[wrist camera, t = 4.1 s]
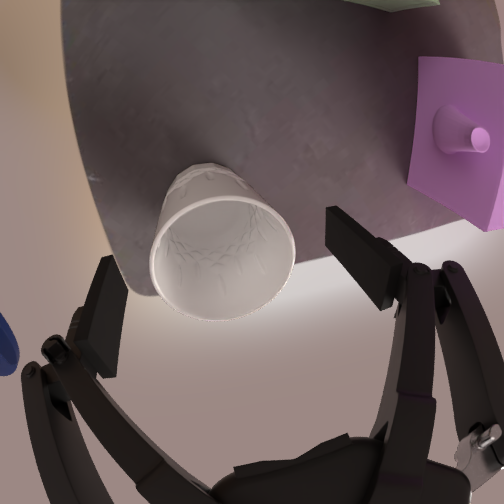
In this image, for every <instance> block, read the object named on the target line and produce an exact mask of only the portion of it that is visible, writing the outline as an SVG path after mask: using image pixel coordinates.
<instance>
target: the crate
mask: <svg viewBox="0 0 504 504" xmlns="http://www.w3.org/2000/svg"><path fill="white" fill-rule="evenodd" d="M343 1H348V2H353V3H357V4H361V5H366V6H370V7H373V8H377V9H381V10H384V11H388V12H391V13H392V12H396V11H401V10H407V9H413V8H420V7H427V6H436V5H440V3H439V0H343Z"/></svg>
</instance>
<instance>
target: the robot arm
mask: <svg viewBox="0 0 504 504" xmlns="http://www.w3.org/2000/svg"><path fill="white" fill-rule="evenodd" d="M325 246H326V247H327V248H328V249H329V250H330V252H331V253H332V254H333V255H334V256H335V257H336V258H337V259H338V261H339V262H340V263H341V264H342V265H343V267H344V268H345V269H346V270H347V271H348V272H349V274H350V275H351V276H352V277H353V278H354V280H355V281H356V282H357V283H358V284H359V286H360V287H361V288H362V289H363V290H364V292H365V293H366V294H367V295H368V297H369V298H370V299H371V300H372V301H373V303H374V304H375V305H376V306H377V308H378V309H379V310H380V311H382V310H385V309H387V308H389V307H392V305H393V301H394V298H395V299H396V300H397V301H398V302H399V303H398V306H397V310H396V313H395V316H394V318H396V322H395V330H394V337H393V344H392V350H391V356H390V361H389V367H388V372H387V377H386V382H385V386H384V391H383V396H382V399H381V403H380V407H379V411H378V415H377V419H376V422H375V424H374V426H373V429H372V431H371V433H370V436H369V438H368V437H349V435H348V433H346V434H343V435H341V436H338V437H336V438H334V439H331V440H328V441H325V442H323V443H320V444H319V445H318V446H316V447H314V448H312V449H311V450H309V451H308V452H306V453H304V454H303V455H301V456H299V457H298V458H296V459H291V460H276V461H275V460H273V461H259V462H255V463H250V464H246V465H241V466H236V467H233V468H234V472H233V473H231V474H229V475H227V476H225V477H224V478H222V479H221V480H220V481H218V482H217V483H216V484H215V485H214V486H213V487H212V489H211V488H209V487H208V486H207V485H205V484H204V483H202V482H201V481H199V480H198V479H196V478H195V477H194V476H192V475H191V474H189V473H188V472H187V471H186V470H185V469H183V468H182V467H181V466H180V465H179V464H177V463H176V462H175V461H174V460H173V459H171V458H170V457H169V456H168V455H167V454H166V453H165V452H164V451H163V450H161V449H160V448H159V447H158V446H157V445H156V444H155V443H154V442H153V441H152V440H151V439H150V438H149V437H148V436H147V435H146V434H145V433H144V432H143V431H142V430H141V429H140V428H139V427H138V426H137V425H136V424H135V423H134V422H133V421H132V420H131V419H130V418H129V417H128V415H126V414H125V412H124V411H123V410H122V409H121V408H120V407H119V405H118V404H117V403H116V402H115V401H114V400H113V398H112V397H111V396H110V395H109V394H108V392H107V391H106V390H105V389H104V388H103V386H102V385H101V384H100V383H99V381H98V380H97V379H96V375H97V372H98V373H99V375H100V376H101V377H102V378H103V379H104V378H113V377H116V374H117V364H118V355H119V347H120V339H121V332H122V325H123V319H124V312H125V307H126V301H127V296H128V288H127V286H126V284H125V282H124V280H123V278H122V275H121V273H120V271H119V269H118V266H117V264H116V262H115V259H114V257H113V255H109V256H105V257H102V258H101V260H100V263H99V265H98V268H97V270H96V273H95V276H94V278H93V281H92V284H91V286H90V289H89V292H88V295H87V298H86V301H85V304H84V306H82V307H78V309H77V310H76V311H75V313H74V314H73V317H72V320H71V324H70V326H69V330H68V333H67V336H66V339H65V340H64V339H63V337H61V336H60V335H53V336H51V337H49V338H48V339H47V340H46V341H45V342H44V343H43V345H42V348H41V352H42V355H43V356H44V357H45V358H46V359H47V361H48V362H49V364H47V365H45V366H43V367H41V366H40V365H39V364H38V363H37V362H35V361H32V362H30V363H28V364H27V365H26V366H25V367H24V368H23V370H22V373H21V382H22V392H23V400H24V407H25V413H26V419H27V425H28V429H29V435H30V440H31V444H32V448H33V452H34V455H35V459H36V463H37V466H38V470H39V473H40V476H41V479H42V482H43V485H44V488H45V490H46V493H47V496H48V498H49V501H50V504H114V503H113V501H112V499H111V498H110V496H109V494H108V492H107V490H106V488H105V486H104V484H103V482H102V480H101V478H100V476H99V474H98V472H97V470H96V468H95V465H94V463H93V461H92V459H91V457H90V454H89V452H88V449H87V447H86V444H85V442H84V439H83V437H82V434H81V431H80V428H79V426H78V423H77V420H76V417H75V414H74V411H73V408H72V404H71V401H70V400H72V402H73V404H74V405H75V407H76V408H77V410H78V411H79V413H80V414H81V416H82V418H83V419H84V420H85V422H86V423H87V425H88V426H89V427H90V429H91V430H92V432H93V433H94V434H95V436H96V437H97V439H98V440H99V441H100V443H101V444H102V445H103V446H104V448H105V449H106V450H107V451H108V453H109V454H110V455H111V456H112V458H113V459H114V460H115V461H116V462H117V463H118V464H119V466H120V467H121V468H122V469H123V470H124V471H125V472H126V474H127V475H128V476H129V477H130V478H131V479H132V480H133V481H134V482H135V484H136V489H137V491H138V492H139V493H140V494H141V495H142V496H143V497H144V498H145V499H146V500H147V501H148V502H149V503H150V504H471V493H472V492H474V491H475V490H476V489H478V488H479V487H480V486H482V485H483V484H484V483H485V482H486V481H488V480H489V479H490V478H491V477H493V476H494V475H495V474H496V473H497V472H498V471H500V470H501V469H502V468H504V361H503V358H502V355H501V352H500V349H499V346H498V344H497V341H496V338H495V336H494V333H493V331H492V328H491V326H490V323H489V321H488V319H487V316H486V314H485V311H484V309H483V307H482V305H481V303H480V301H479V298H478V296H477V294H476V292H475V290H474V288H473V286H472V284H471V282H470V280H469V278H468V277H467V275H466V273H465V271H464V269H463V268H462V266H461V265H460V264H458V263H457V262H454V261H445V262H443V264H442V268H441V269H437V270H431V269H430V268H429V267H428V266H427V265H425V264H422V263H412V262H411V261H410V260H409V259H408V258H407V257H406V256H405V255H403V254H402V253H401V252H400V251H398V249H397V248H395V247H393V245H392V244H391V243H390V242H388V241H387V240H385V239H383V238H380V237H378V238H375V237H374V236H373V235H372V234H371V233H369V232H368V231H367V230H366V229H365V228H364V227H362V226H361V225H360V224H359V223H358V222H356V221H355V220H354V219H353V218H351V217H350V216H349V215H348V214H347V213H345V212H344V211H343V210H342V209H340V208H339V207H338V206H331V207H326V232H325ZM435 326H436V329H437V333H438V337H439V340H440V344H441V348H442V352H443V356H444V361H445V365H446V370H447V375H448V380H449V386H450V391H451V397H452V404H453V411H454V419H455V425H456V431H457V435H458V439H459V442H460V443H459V445H458V447H457V451H456V453H455V455H454V459H455V461H456V462H457V467H456V468H454V467H450V466H447V465H444V464H441V463H438V462H435V461H432V460H429V459H427V457H428V453H429V449H430V443H431V438H432V432H433V427H434V420H435V413H436V399H435V398H433V397H432V388H433V387H432V386H433V376H434V360H435Z"/></svg>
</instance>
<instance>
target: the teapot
mask: <svg viewBox="0 0 504 504" xmlns="http://www.w3.org/2000/svg"><path fill="white" fill-rule="evenodd" d="M407 185H408V186H410V187H412V188H414V189H416V190H418V191H419V192H421V193H423V194H425V195H427V196H428V197H430V198H432V199H433V200H435V201H437V202H439V203H440V204H442V205H444V206H445V207H447V208H449V209H450V210H452V211H453V212H455V213H457V214H458V215H460V216H461V217H463V218H464V219H466V220H467V221H469V222H470V223H472V224H473V225H475V226H476V227H478V228H479V229H481V230H482V231H484V232H487V231H491V230H497V229H503V228H504V65H503V64H498V63H492V62H486V61H479V60H471V59H462V58H450V57H430V56H418V94H417V109H416V121H415V131H414V140H413V147H412V155H411V161H410V168H409V174H408V180H407Z"/></svg>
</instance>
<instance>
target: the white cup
mask: <svg viewBox="0 0 504 504" xmlns="http://www.w3.org/2000/svg"><path fill="white" fill-rule="evenodd" d="M294 262H295V243H294V238H293V235H292V232H291V230H290V228H289V226H288V225H287V223H286V222H285V220H284V219H283V218H282V217H281V216H280V215H279V214H278V213H277V212H276V211H275V210H274V209H273V208H272V207H271V206H270V205H269V204H268V203H267V202H266V201H265V200H264V199H263V198H262V197H261V196H260V195H259V194H258V193H257V192H256V191H255V190H254V189H253V188H252V187H251V186H250V185H249V184H248V183H247V182H245V181H244V180H243V179H242V178H241V177H239V176H237V175H236V174H235V173H234V172H233V171H232V170H231V169H229V168H227V167H224V166H221V165H218V164H215V163H204V164H196V165H192V166H191V167H189V168H187V169H186V170H184V171H183V172H181V173H180V174H178V175H177V176H176V178H175V179H174V181H173V182H172V184H171V186H170V187H169V189H168V191H167V194H166V197H165V199H164V202H163V205H162V208H161V211H160V214H159V218H158V222H157V226H156V231H155V235H154V239H153V244H152V248H151V252H150V259H149V270H150V276H151V280H152V283H153V285H154V287H155V289H156V291H157V293H158V294H159V296H160V297H161V298H162V299H163V300H164V302H165V303H166V304H168V305H169V306H170V307H171V308H173V309H174V310H176V311H177V312H179V313H181V314H183V315H185V316H188V317H190V318H194V319H197V320H203V321H227V320H233V319H237V318H241V317H244V316H247V315H249V314H251V313H254V312H255V311H257V310H259V309H261V308H262V307H264V306H265V305H267V304H268V303H269V302H270V301H272V300H273V299H274V298H275V297H276V296H277V294H279V293H280V291H281V290H282V289H283V287H284V286H285V284H286V283H287V281H288V279H289V277H290V275H291V273H292V270H293V267H294Z"/></svg>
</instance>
